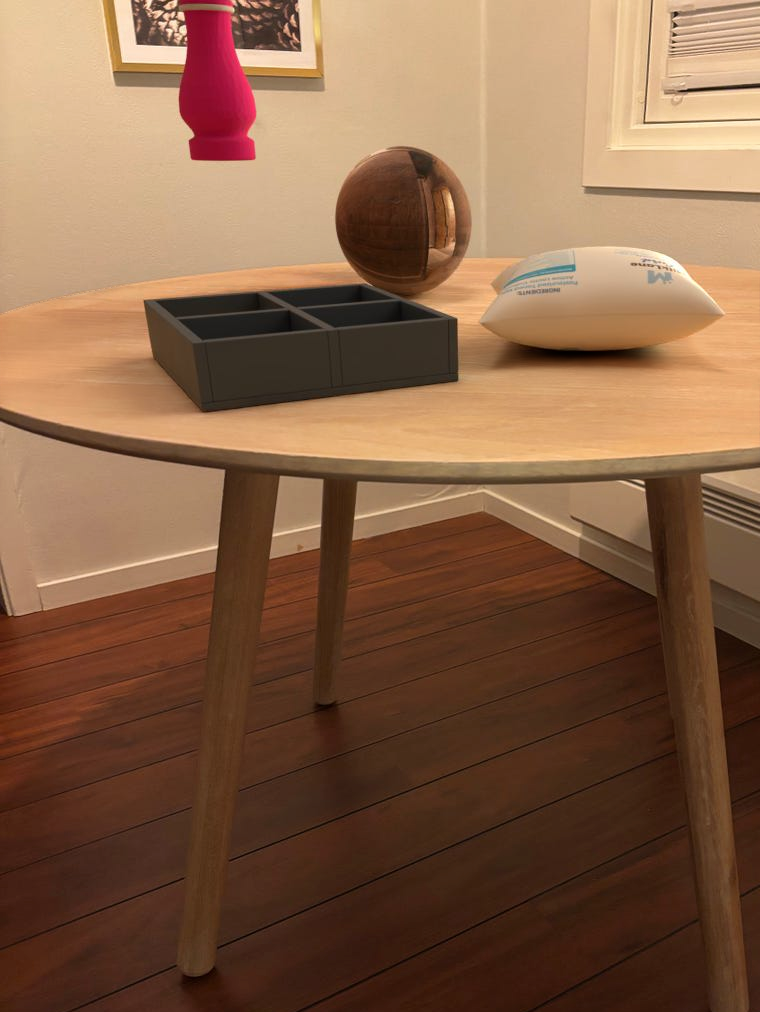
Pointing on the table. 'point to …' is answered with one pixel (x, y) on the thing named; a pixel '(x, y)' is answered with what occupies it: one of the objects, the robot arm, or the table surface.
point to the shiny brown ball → (403, 220)
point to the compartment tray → (299, 344)
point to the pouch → (597, 300)
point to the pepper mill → (215, 85)
